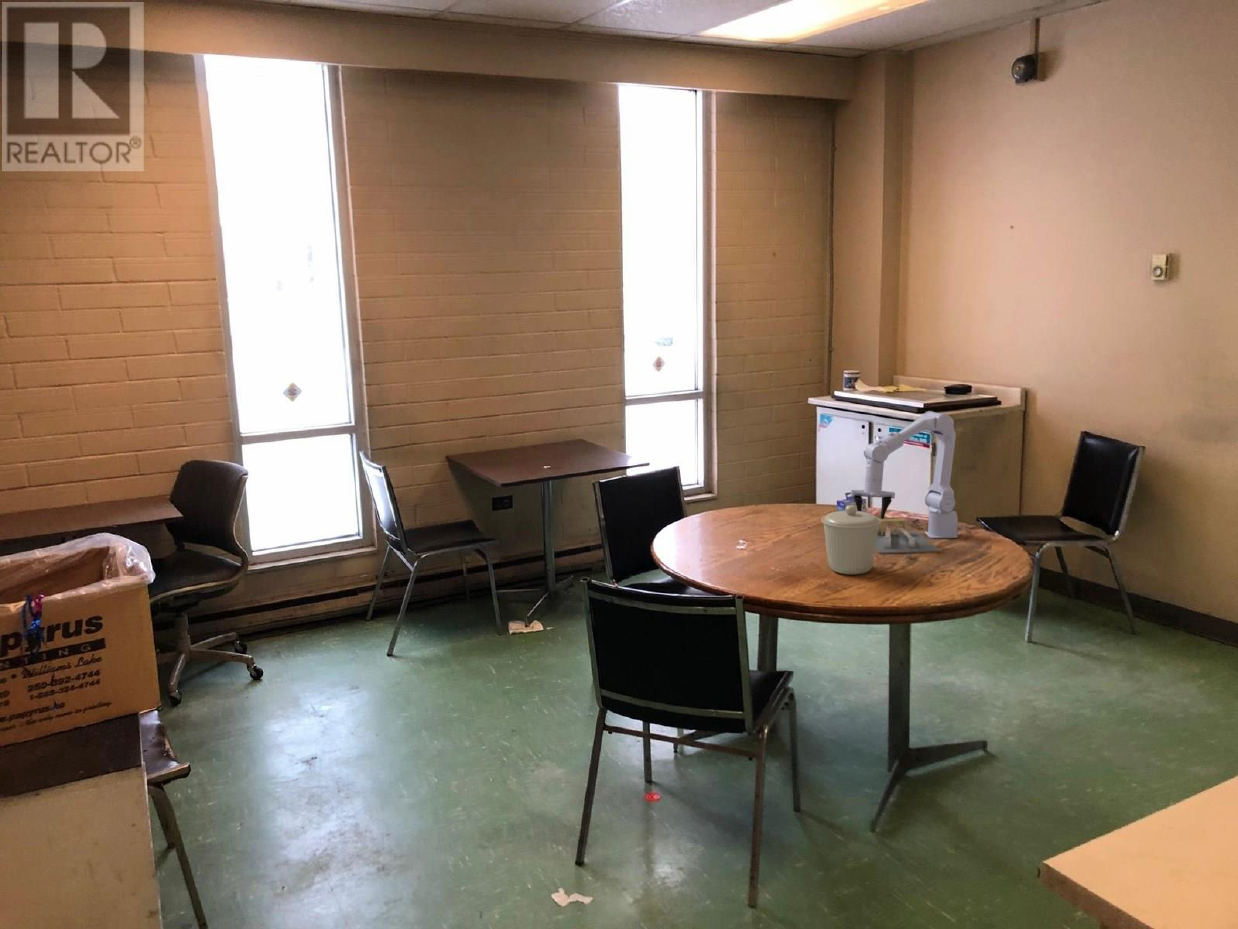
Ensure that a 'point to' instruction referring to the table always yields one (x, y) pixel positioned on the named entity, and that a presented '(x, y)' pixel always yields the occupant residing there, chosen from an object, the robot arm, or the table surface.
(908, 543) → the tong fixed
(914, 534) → the mat
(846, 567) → the canister
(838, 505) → the ink cartridge box
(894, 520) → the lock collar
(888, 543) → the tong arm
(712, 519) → the table surface
